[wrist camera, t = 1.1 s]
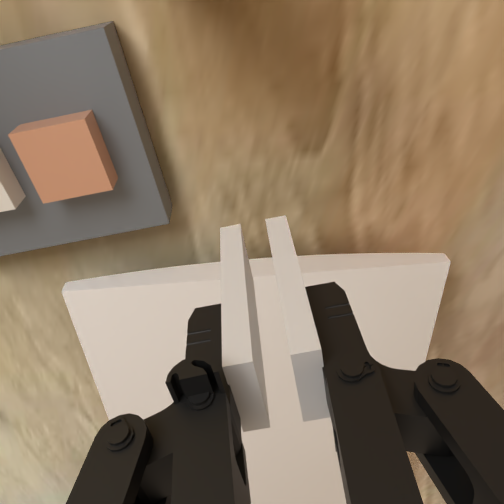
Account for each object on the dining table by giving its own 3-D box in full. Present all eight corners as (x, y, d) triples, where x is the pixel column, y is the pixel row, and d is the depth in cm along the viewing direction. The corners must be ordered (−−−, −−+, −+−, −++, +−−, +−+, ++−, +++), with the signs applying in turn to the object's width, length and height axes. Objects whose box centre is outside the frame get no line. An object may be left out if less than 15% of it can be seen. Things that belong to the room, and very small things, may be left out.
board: (76, 258, 40) (61, 291, 36) (428, 232, 41) (450, 261, 37) (158, 508, 65) (155, 543, 61) (374, 488, 66) (384, 521, 62)
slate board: (-145, 76, 30) (-177, 87, 27) (113, 20, 29) (103, 27, 27) (-33, 245, 38) (-50, 265, 35) (172, 205, 37) (169, 223, 34)
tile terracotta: (19, 124, 29) (7, 134, 28) (91, 109, 29) (84, 118, 28) (52, 190, 32) (43, 203, 31) (118, 177, 32) (113, 189, 30)
